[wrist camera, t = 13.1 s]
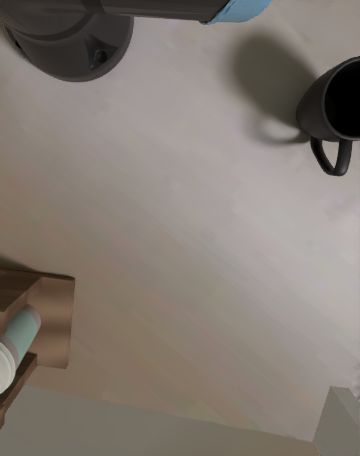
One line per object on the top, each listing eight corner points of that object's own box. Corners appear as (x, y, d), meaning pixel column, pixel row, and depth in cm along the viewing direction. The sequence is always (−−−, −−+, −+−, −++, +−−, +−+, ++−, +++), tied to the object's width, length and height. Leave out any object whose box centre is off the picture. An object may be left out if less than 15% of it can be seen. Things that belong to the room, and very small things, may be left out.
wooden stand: (-21, 262, 43) (-92, 300, 32) (75, 275, 44) (40, 317, 32) (-22, 356, 47) (-85, 420, 35) (67, 366, 47) (34, 432, 36)
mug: (275, 169, 41) (304, 171, 32) (293, 75, 38) (331, 49, 29) (331, 176, 41) (377, 181, 32) (353, 84, 39) (410, 61, 30)
